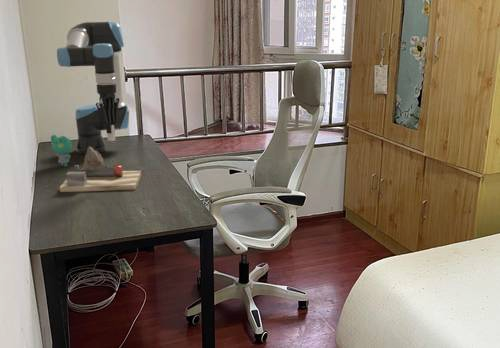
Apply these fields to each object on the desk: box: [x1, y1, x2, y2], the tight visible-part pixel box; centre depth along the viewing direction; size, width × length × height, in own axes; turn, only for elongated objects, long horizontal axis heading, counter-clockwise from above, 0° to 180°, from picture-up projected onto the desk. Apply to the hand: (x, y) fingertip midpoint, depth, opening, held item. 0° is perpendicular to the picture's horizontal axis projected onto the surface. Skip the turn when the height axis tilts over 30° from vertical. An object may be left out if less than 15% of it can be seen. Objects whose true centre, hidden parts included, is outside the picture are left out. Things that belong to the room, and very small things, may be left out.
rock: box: [82, 147, 106, 168], centre depth 225 cm, size 14×10×8 cm
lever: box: [79, 164, 124, 177], centre depth 211 cm, size 4×18×4 cm, turn 91°
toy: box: [50, 134, 73, 168], centre depth 231 cm, size 9×8×15 cm
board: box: [59, 164, 142, 193], centre depth 209 cm, size 19×30×7 cm, turn 95°
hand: (111, 140), depth 207 cm, fingers closed
